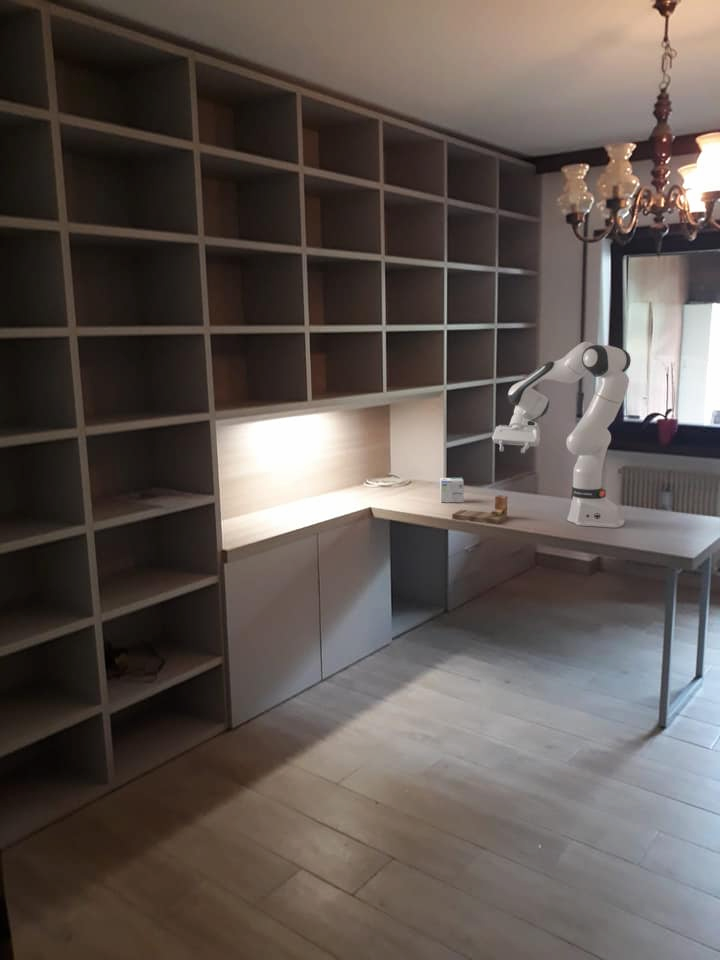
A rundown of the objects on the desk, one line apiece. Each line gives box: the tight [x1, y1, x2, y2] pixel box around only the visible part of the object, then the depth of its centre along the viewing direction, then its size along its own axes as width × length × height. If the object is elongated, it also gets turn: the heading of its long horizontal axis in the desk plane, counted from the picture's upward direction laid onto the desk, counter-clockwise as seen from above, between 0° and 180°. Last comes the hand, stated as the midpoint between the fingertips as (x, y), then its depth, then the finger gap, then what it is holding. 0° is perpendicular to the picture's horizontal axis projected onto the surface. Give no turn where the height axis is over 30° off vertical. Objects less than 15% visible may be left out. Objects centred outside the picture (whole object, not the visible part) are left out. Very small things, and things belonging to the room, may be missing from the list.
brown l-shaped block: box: [490, 494, 508, 516], centre depth 326 cm, size 4×10×9 cm, turn 151°
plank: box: [451, 509, 507, 525], centre depth 326 cm, size 20×10×2 cm, turn 61°
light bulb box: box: [439, 477, 465, 504], centre depth 358 cm, size 11×7×11 cm, turn 89°
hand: (511, 451), depth 335 cm, fingers open, 8 cm apart
